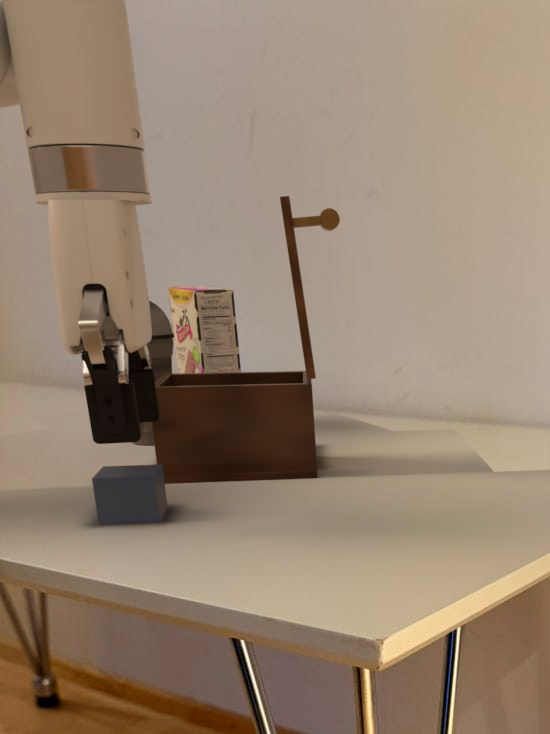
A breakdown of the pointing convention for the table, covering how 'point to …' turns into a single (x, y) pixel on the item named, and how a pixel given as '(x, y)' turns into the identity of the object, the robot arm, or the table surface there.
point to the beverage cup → (157, 359)
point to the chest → (235, 427)
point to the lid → (327, 222)
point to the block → (130, 494)
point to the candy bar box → (204, 329)
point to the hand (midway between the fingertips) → (129, 431)
